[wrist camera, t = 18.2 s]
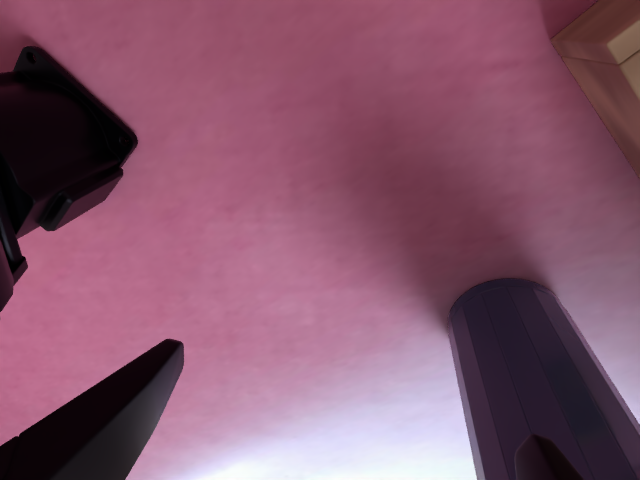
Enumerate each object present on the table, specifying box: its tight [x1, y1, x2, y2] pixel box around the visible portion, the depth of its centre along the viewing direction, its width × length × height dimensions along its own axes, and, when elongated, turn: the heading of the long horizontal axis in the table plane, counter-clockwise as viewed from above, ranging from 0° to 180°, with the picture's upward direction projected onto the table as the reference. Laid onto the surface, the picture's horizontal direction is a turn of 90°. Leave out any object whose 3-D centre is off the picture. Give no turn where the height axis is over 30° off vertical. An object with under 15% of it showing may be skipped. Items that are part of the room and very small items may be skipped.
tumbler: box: [448, 279, 640, 480], centre depth 16 cm, size 6×6×13 cm
